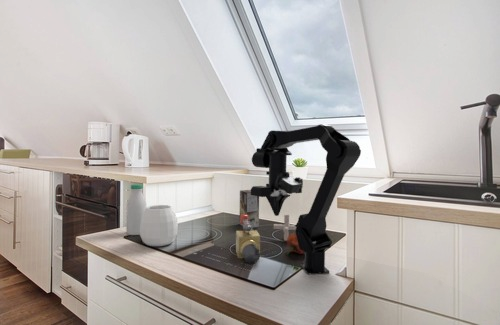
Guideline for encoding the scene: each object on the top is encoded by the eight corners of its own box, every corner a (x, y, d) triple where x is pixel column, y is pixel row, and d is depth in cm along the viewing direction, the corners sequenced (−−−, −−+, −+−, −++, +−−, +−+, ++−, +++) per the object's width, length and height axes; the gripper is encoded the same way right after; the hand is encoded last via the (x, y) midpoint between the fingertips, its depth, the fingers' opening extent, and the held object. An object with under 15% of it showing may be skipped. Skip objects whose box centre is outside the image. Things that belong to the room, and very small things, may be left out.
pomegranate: (297, 265, 95) (318, 243, 98) (284, 248, 93) (305, 227, 97) (287, 259, 102) (306, 240, 105) (274, 243, 100) (294, 224, 104)
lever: (253, 233, 96) (253, 224, 96) (243, 233, 95) (243, 224, 95) (248, 222, 111) (248, 214, 111) (239, 222, 110) (239, 214, 110)
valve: (263, 263, 90) (263, 236, 89) (240, 264, 89) (240, 237, 88) (253, 245, 106) (253, 223, 106) (234, 246, 105) (234, 223, 105)
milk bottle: (146, 234, 118) (147, 185, 118) (126, 236, 115) (126, 185, 115) (146, 229, 125) (146, 183, 125) (126, 231, 123) (126, 183, 122)
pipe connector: (298, 245, 108) (299, 218, 108) (272, 242, 110) (272, 216, 110) (299, 237, 118) (300, 212, 118) (275, 235, 120) (275, 211, 120)
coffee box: (259, 227, 133) (260, 192, 133) (246, 228, 130) (247, 192, 130) (250, 222, 142) (251, 189, 141) (238, 223, 139) (239, 190, 138)
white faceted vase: (139, 239, 111) (140, 204, 111) (175, 237, 116) (175, 203, 115) (139, 251, 99) (140, 211, 98) (179, 247, 103) (180, 209, 103)
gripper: (274, 171, 85) (273, 224, 85) (314, 169, 97) (313, 216, 97) (249, 168, 94) (249, 217, 94) (290, 167, 105) (289, 210, 106)
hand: (276, 215), depth 98 cm, fingers closed
